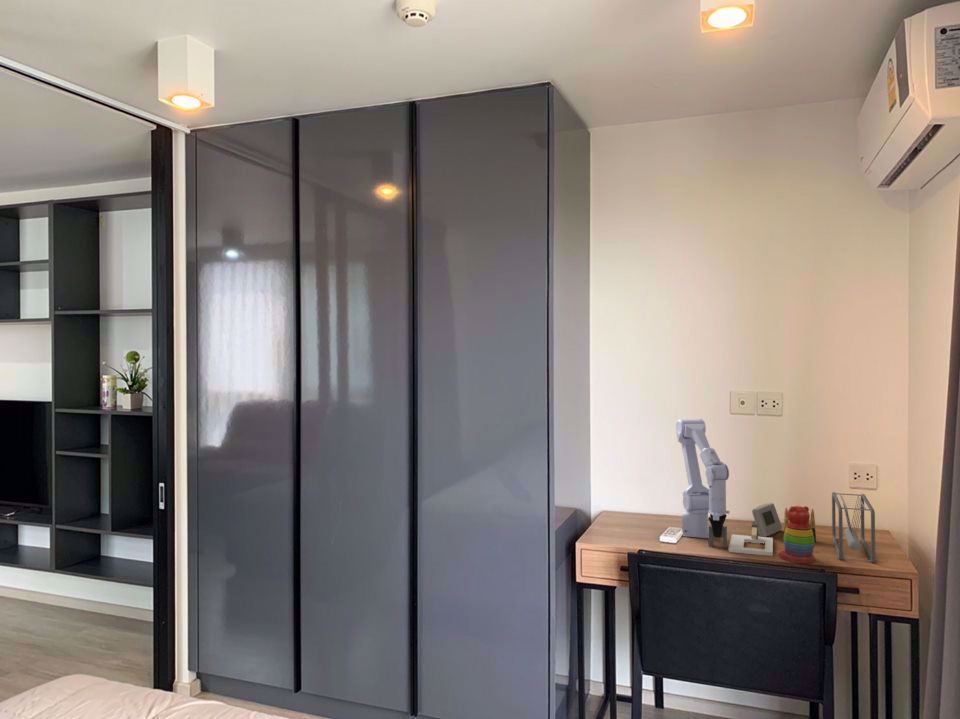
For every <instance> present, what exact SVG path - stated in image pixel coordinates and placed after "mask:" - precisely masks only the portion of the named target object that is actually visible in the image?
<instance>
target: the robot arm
mask: <svg viewBox="0 0 960 719" xmlns="http://www.w3.org/2000/svg"><path fill="white" fill-rule="evenodd" d="M706 429H707V428H706V422H705V421H704V420H703V418H697V419H695V418H692V419H691V418H690V419H688V418H687V419H678V420H677V421H676V423H675V434H676V438H677V442H678V443H680V445H681V450H682V455H683V461H684V466H685V472H686V477H687V484H688V486H687V487H686V488H685V489H684V491H683V492H682V498H683V499H682V505H683V508H684V510H683V511H682V515H681V516H682V517H681V519H682V520H681V530H682V531H681V533H682V532H683V536H682V537H688V538H689V537H690V538H700V539H709V523H710V525H711V526H712V529H713V535H714V537H713V539H714V538H715V539H722V538H721V533H722V527H723V526H724V523H726V522H725V521H726V520H727V519H726V518H727V514H730V510H727V489H726V488H727V484H726V483H727V481H728V479H729V477H730V470H729V467H728V465H727V464H726V463H724V462H723V461H721V460H720V458H719V455H718V454H717V452H716V450H715V448H712V447H710V443H709V441H708V439H707V436H706ZM696 446H697V447H698V449H699V451H700V453H699V457H700V459H701V462H702V464H703V465H704V467H705V476H706V482H707V483H706V484H707V485H708V488H707V487H706V485H703V481H702V476H701V470H700V466H699V459H698V458H699V457H698V454H697V448H696ZM709 514H710V515H709Z"/></svg>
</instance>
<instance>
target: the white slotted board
mask: <svg viewBox="0 0 960 719" xmlns="http://www.w3.org/2000/svg"><path fill="white" fill-rule="evenodd" d="M730 537H731V538H730V542H729V545H728V552H729V553H737V554H747V555H756V556H757V555H758V556H770V557H773V556H774V555H773V554H774V551H773V550H774V549H773V548H774V547H773V546H774V538H773V537H761V536H759V535H758V524H752V523H751V535H743V534H733V533H732V534H731V536H730ZM748 542H751V544H760V543H763V544H762V545H764V549H763V548H752V547H745V543H748ZM764 543H765V544H764Z"/></svg>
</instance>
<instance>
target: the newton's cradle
mask: <svg viewBox="0 0 960 719" xmlns="http://www.w3.org/2000/svg"><path fill="white" fill-rule="evenodd" d="M831 493H832V494H831V536H832V541H833V545H834V548H835V551H836V555H837V557H838V559H840V560H839V561H842V560H851V561H862V562H863V561H864V562H871V563H872V564H874V563H876V512H875V509H874V507H873V506H872V505H871V503H870V501H869V500H868V497H867V496H866V495H865V493H860V494H857V493H856V494H855V493H854V494H853V493H841V492H839V493H837V492H834V491H832V492H831ZM838 495H839V496H840V499H841V501H842V503H843V504H841V502H840V500H839V498H838ZM843 496H850V498H851V499H850V500H851V501H849V500H848V502H849V503H847V502H846V501H845V499H844V497H843ZM852 496H856V497H852ZM852 498H855V499H852ZM852 500H853V501H852ZM854 500H855V505H854V508H853V507H852V508H851V507H849V505H851V504H852V503H854ZM845 502H846V503H845ZM851 502H852V503H851ZM848 504H849V505H848ZM842 505H843V507H842ZM865 505H866V506H867V507H866V506H865ZM847 506H848V507H847ZM836 507H837V509H838V510H837V511H838V538H837V536H836V532H837V530H836V529H837V528H836V525H837V524H836ZM867 508H868V509H867ZM843 510H844V513H845V517H846V522H847V528H845V529H844V530H843V525H844V524H843ZM849 510H852V511H853V510H854V511H853V515H852V520H850V516H849ZM865 511H869V512H870V548H871V549H869V547H868V544H867V542H866V539H865ZM851 521H852V522H851ZM859 526H860V538H859V537H858V532H859V529H858V528H859ZM843 531H844V532H843ZM843 534H844V535H843ZM843 536H844V537H845V539H843V538H844V537H843ZM845 540H846V542H847V546H848V548H850V550H852V551H858V550H860V549H861V547H862V546H863V548H864V550H865V553H866V554H867V556H868V559H862V558H861V559H859V558H850V557H844V553H843V551H844V549H843V547H844V544H843V543H844V542H843V541H845ZM861 543H862V544H861Z"/></svg>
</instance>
